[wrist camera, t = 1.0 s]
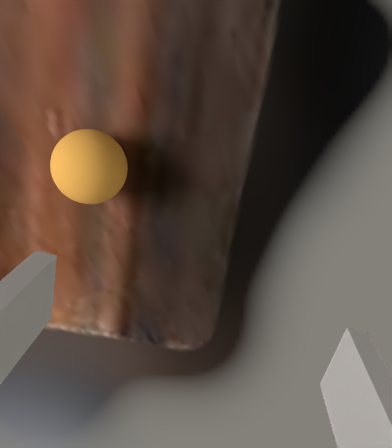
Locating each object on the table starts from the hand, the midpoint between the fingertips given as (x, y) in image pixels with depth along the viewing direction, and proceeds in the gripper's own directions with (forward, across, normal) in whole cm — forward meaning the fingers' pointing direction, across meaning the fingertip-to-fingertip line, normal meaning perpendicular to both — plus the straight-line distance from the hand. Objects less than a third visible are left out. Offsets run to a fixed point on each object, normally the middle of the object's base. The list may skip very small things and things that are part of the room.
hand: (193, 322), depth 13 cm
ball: (+15, -10, 0) cm, 18 cm away
